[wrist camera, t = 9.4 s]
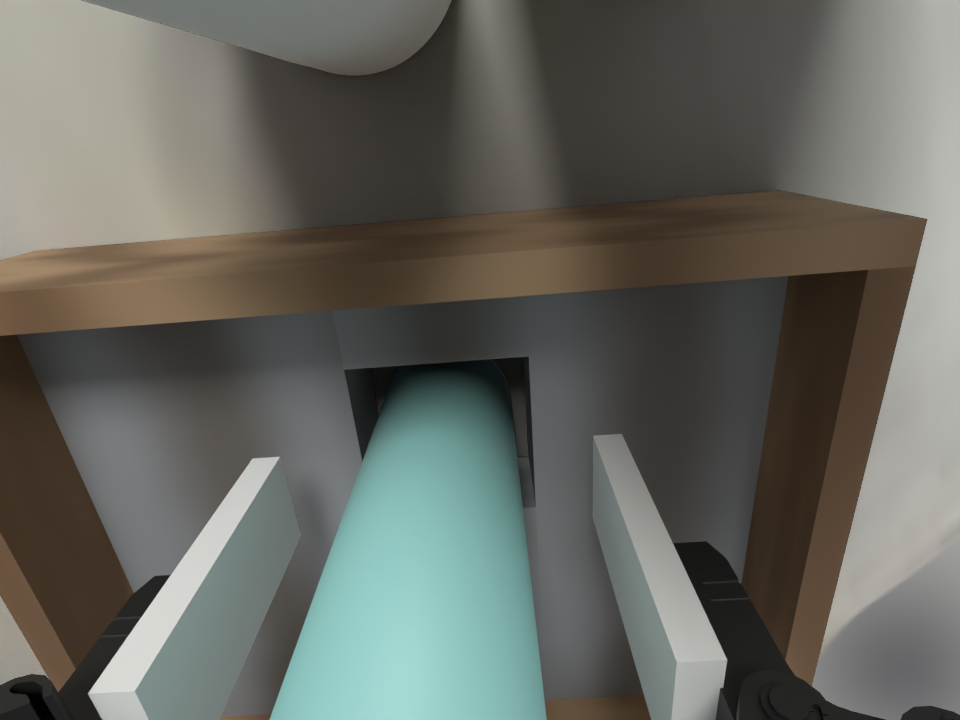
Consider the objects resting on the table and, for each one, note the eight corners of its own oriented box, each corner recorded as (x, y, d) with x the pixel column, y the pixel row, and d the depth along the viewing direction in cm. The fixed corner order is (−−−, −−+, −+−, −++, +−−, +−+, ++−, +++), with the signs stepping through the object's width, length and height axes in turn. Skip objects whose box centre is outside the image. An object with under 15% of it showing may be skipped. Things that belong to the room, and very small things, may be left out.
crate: (207, 669, 25) (131, 819, 20) (36, 250, 17) (-171, 305, 12) (717, 641, 24) (785, 789, 19) (779, 190, 17) (927, 218, 11)
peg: (379, 348, 19) (158, 821, 6) (506, 338, 19) (564, 803, 6) (397, 455, 21) (258, 1000, 8) (514, 448, 20) (570, 989, 8)
